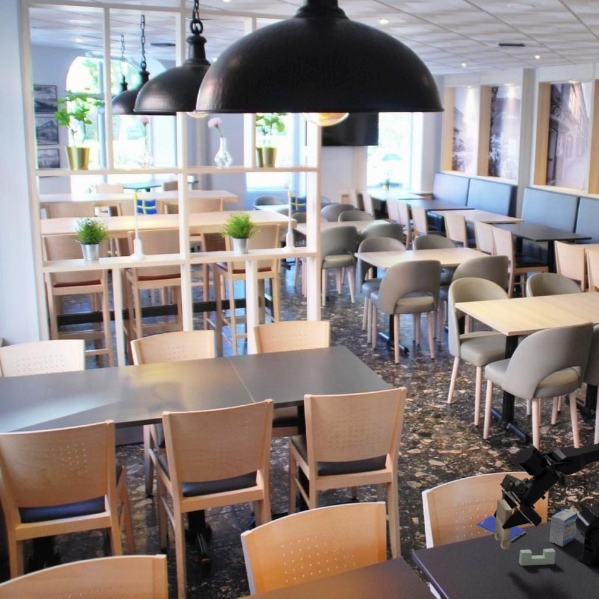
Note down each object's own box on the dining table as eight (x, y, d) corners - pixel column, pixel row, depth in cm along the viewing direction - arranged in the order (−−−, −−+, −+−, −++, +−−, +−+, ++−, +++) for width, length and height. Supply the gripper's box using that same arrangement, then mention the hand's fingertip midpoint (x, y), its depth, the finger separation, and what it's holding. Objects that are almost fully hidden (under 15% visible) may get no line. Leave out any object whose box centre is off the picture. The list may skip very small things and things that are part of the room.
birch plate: (501, 537, 230) (504, 499, 227) (509, 549, 224) (512, 510, 221) (494, 537, 230) (497, 499, 227) (502, 549, 224) (505, 510, 221)
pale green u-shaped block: (551, 561, 231) (553, 548, 230) (554, 564, 229) (555, 551, 228) (518, 562, 230) (519, 550, 229) (521, 565, 228) (522, 553, 227)
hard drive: (476, 523, 250) (510, 538, 241) (491, 515, 255) (525, 529, 247) (476, 528, 250) (510, 543, 241) (491, 519, 256) (525, 534, 247)
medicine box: (562, 547, 238) (564, 521, 237) (548, 541, 242) (551, 515, 240) (575, 538, 244) (578, 512, 242) (562, 533, 247) (564, 507, 245)
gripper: (508, 453, 231) (470, 489, 232) (534, 481, 213) (491, 520, 214) (532, 477, 234) (494, 513, 235) (559, 507, 216) (517, 546, 217)
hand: (498, 522), depth 225 cm, fingers closed on birch plate, 6 cm apart
